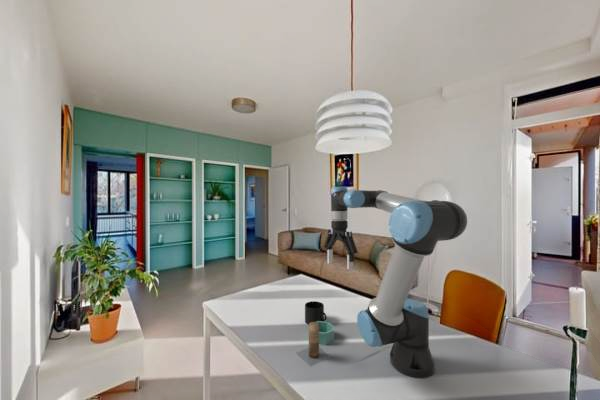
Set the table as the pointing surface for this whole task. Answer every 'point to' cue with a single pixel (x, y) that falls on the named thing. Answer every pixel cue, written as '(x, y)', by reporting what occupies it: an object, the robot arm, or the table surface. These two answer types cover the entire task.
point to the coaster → (310, 361)
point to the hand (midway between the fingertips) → (339, 265)
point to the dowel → (313, 340)
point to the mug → (314, 312)
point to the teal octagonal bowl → (325, 333)
